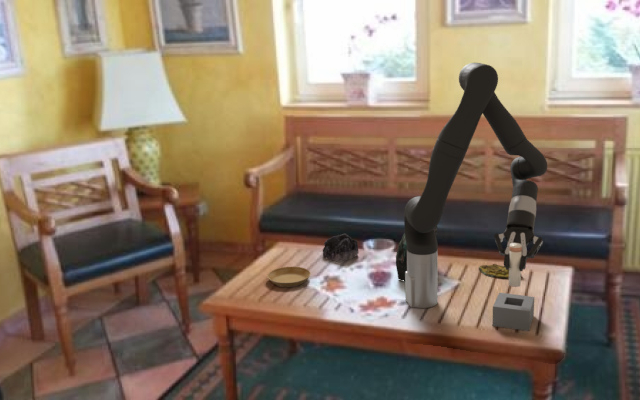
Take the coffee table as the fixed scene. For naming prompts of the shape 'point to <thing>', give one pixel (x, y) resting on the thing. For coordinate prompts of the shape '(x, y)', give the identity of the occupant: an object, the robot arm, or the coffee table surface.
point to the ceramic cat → (403, 257)
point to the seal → (494, 271)
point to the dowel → (515, 264)
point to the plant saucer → (289, 276)
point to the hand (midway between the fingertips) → (514, 269)
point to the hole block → (513, 311)
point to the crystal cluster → (340, 248)
